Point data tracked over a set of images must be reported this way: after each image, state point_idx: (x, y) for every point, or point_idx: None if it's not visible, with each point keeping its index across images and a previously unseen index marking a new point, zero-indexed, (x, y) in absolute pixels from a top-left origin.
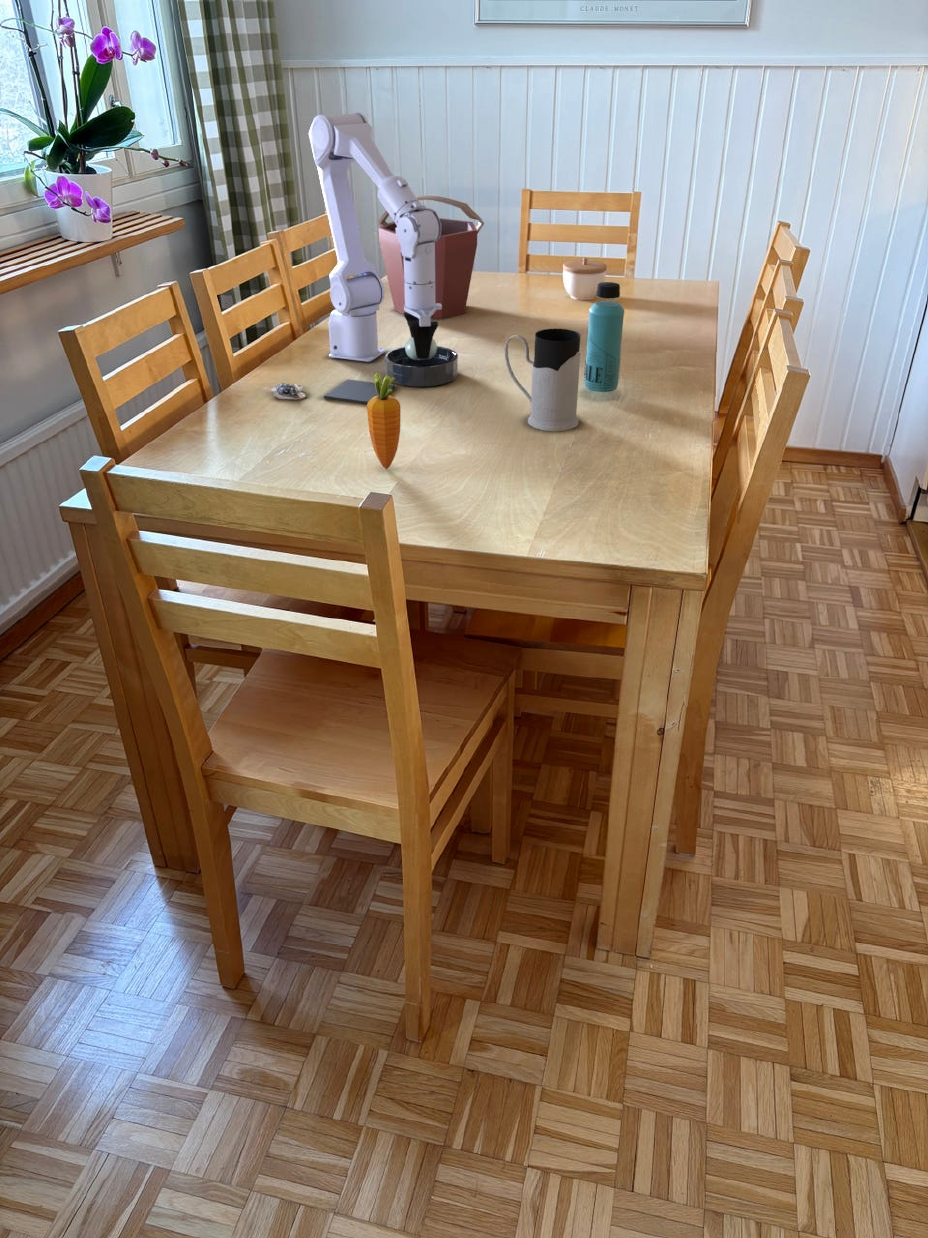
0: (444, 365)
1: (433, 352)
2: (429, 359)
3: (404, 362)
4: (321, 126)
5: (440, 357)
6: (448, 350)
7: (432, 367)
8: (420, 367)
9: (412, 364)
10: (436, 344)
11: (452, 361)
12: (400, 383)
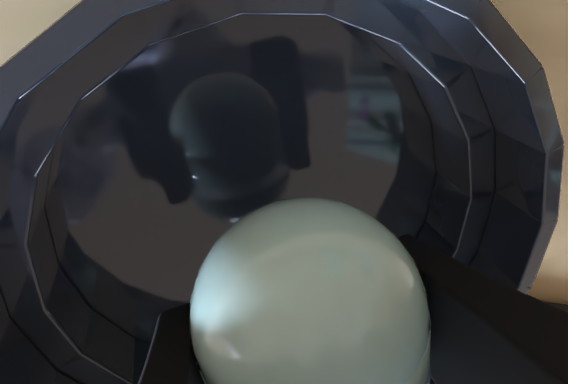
0: (541, 76)
1: (377, 220)
2: (34, 223)
3: (127, 353)
4: None
5: (39, 141)
6: (47, 76)
7: (560, 165)
8: (547, 241)
9: (83, 304)
10: (335, 240)
11: (478, 2)
12: None
